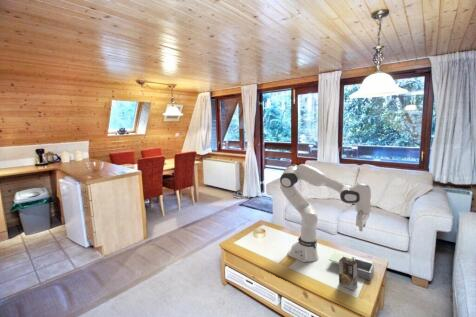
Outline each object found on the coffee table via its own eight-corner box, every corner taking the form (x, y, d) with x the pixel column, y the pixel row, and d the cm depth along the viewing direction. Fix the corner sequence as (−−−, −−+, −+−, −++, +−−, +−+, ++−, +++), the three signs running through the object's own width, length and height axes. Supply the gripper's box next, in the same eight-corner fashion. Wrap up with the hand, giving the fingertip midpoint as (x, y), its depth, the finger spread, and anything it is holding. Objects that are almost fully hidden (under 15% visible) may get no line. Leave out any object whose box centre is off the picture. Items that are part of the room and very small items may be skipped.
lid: (328, 260, 168) (329, 256, 168) (334, 252, 178) (334, 249, 178) (351, 266, 159) (351, 263, 159) (355, 258, 169) (356, 254, 169)
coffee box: (357, 286, 149) (358, 261, 147) (353, 291, 144) (353, 265, 142) (343, 279, 155) (343, 256, 154) (338, 284, 151) (338, 259, 149)
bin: (345, 272, 162) (345, 265, 162) (350, 264, 172) (350, 257, 171) (370, 280, 153) (370, 272, 153) (373, 271, 163) (373, 263, 162)
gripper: (364, 213, 145) (364, 235, 147) (371, 204, 161) (371, 224, 163) (353, 212, 149) (353, 233, 151) (361, 203, 165) (360, 222, 167)
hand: (362, 228), depth 157 cm, fingers open, 7 cm apart
